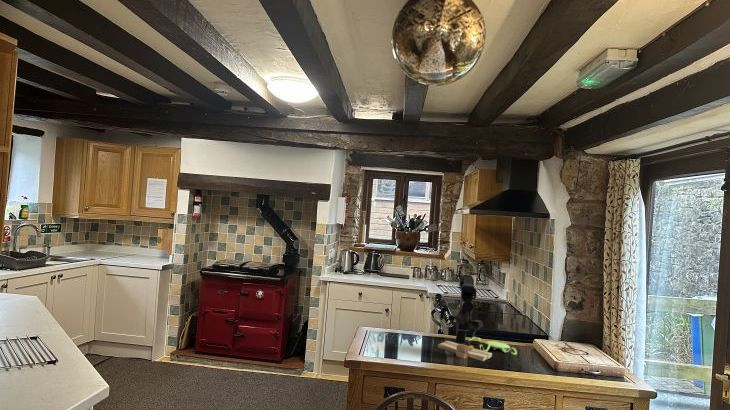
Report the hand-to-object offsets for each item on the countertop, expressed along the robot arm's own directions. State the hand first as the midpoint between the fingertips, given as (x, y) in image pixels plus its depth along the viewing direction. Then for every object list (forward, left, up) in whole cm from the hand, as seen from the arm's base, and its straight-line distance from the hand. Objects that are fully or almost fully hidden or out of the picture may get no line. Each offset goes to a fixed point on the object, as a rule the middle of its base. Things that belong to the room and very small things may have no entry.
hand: (464, 336), depth 262 cm
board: (-9, -3, -11) cm, 15 cm away
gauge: (-5, 0, -11) cm, 12 cm away
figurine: (-29, +5, -12) cm, 31 cm away
